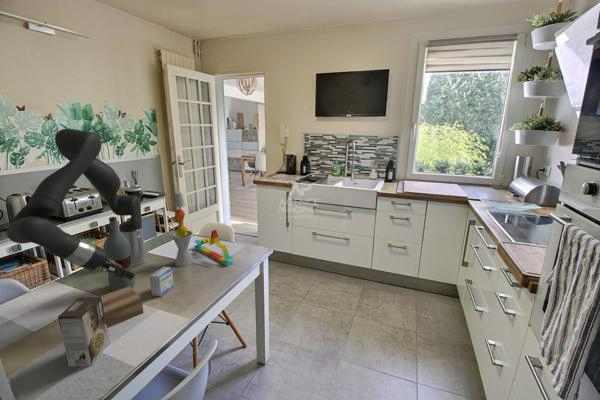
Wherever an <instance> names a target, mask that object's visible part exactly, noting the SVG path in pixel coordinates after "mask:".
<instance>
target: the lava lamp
mask: <svg viewBox="0 0 600 400" xmlns="http://www.w3.org/2000/svg"><path fill="white" fill-rule="evenodd" d="M185 203H186V202H185V199H184V196H183V192H181V191H178V192H177V191H176V192H174V199H173V207H174V208H182V207H185V206H186V204H185ZM185 213H186V212H185V211H184V210H182V209H177V210H176V211H175V212H174V217H175V218H176V220H177V223H178V228H177V231H175V232H172V234H171V237H172V239H173V241H174V243H175V245H176V247H177V249H178V250H177V253H176V258H175V261H174V265H175V266H176V267H180V268H182V267H187V266H191V265H193V264H194V263H195V261H194V258H193V256H192V253H191V252H190V249H189V246H190V242H191V239H192V235H193V232H192V231H190V230H188V227H187V226H185V225H184V218H185V216H186V214H185Z"/></svg>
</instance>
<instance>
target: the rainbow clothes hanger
mask: <svg viewBox="0 0 600 400" xmlns="http://www.w3.org/2000/svg"><path fill="white" fill-rule="evenodd" d="M210 233H211V235H210V238H207V237H204V238H202V239H201V240H200V239H196V240H194V243H195V244H196V245H194V246H193V247H194V250H197V251H198V252H200V253H202V254H204V255H206V256H208V257H210V258H212V260H215V261H217V262H218V263H221V264H223V265H224V266H226V267H230V266H232V265H234V262H233V260H231V259H232V258H233V256H232V255H230V253H229V251H228V248H227V244H226V245H225V244H223V243H222V242H221V241H220V238H219V235H218V231H217V229H213V230H211V232H210ZM206 244H209V246H212V245H216V247H218V248H220V249H221V251H222V254H219V253H218V252H215V251H213V250H211V249H210V248H207V247H206V246H203V245H206Z"/></svg>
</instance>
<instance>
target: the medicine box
mask: <svg viewBox="0 0 600 400" xmlns="http://www.w3.org/2000/svg"><path fill="white" fill-rule="evenodd" d="M149 282H150V283H149V284H150V291H151V295H152V296H156V297H163V296H164V295H166V293H167V292H168V291H170V290H171V289H172V288H174V287H175V286H174V276H173V268H172V267H169V266H168V267H167V266H162V267H160V268H159V269H157V270H156V271H155V272H153V273H152V274H150V275H149Z"/></svg>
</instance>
